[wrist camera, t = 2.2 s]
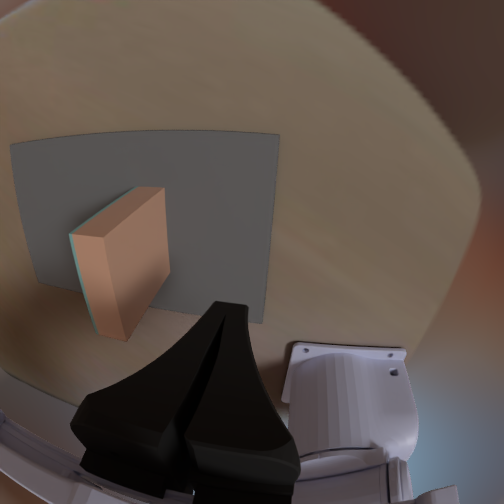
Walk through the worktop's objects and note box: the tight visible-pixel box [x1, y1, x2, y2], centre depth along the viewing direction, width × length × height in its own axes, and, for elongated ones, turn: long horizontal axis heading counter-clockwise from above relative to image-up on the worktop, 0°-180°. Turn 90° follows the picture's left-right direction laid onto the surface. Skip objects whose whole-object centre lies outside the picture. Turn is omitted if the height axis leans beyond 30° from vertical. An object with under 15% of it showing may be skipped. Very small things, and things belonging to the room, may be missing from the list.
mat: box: [10, 130, 280, 324], centre depth 20 cm, size 21×13×1 cm, turn 87°
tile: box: [69, 186, 170, 342], centre depth 16 cm, size 2×6×7 cm, turn 177°
